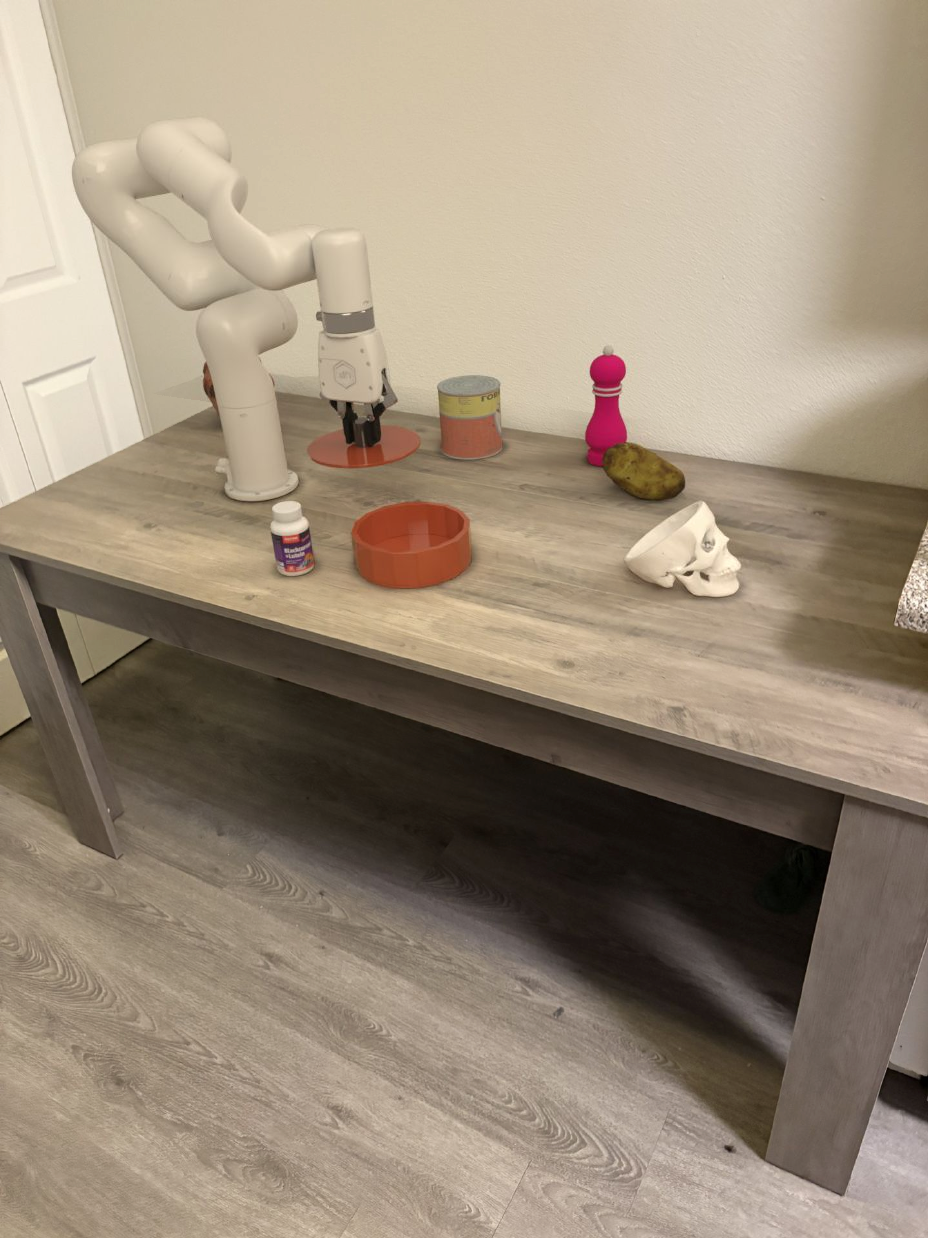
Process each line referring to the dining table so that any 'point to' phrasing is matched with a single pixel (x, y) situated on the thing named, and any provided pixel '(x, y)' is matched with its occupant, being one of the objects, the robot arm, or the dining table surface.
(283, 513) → the pill bottle
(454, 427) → the canned food
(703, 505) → the skull bowl
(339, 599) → the dining table surface
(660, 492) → the potato
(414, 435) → the lid
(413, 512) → the pot
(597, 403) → the pepper mill
